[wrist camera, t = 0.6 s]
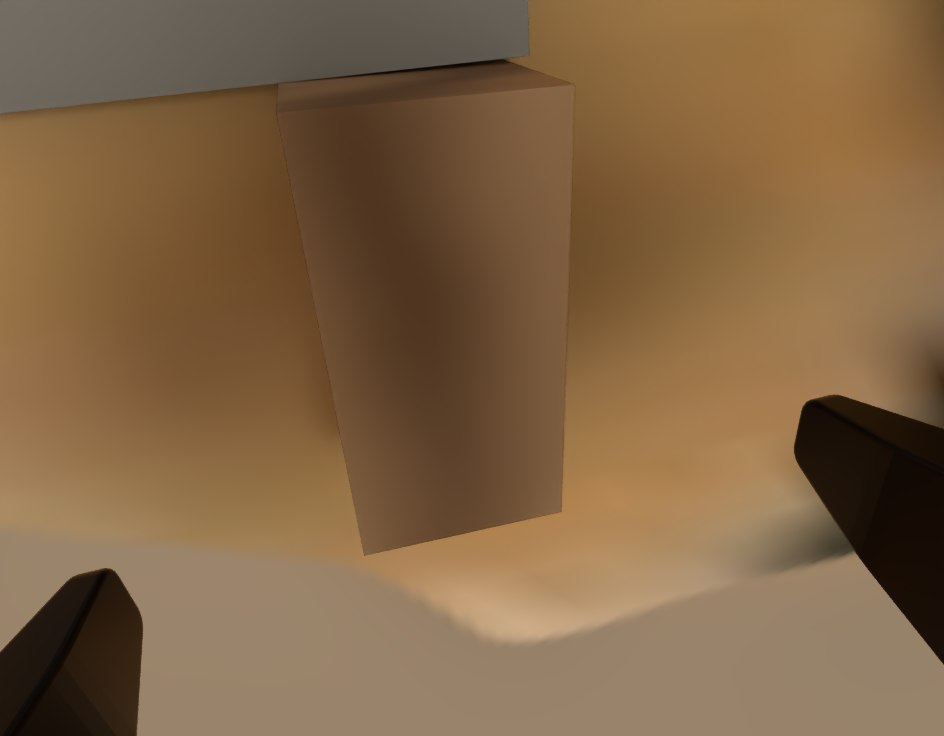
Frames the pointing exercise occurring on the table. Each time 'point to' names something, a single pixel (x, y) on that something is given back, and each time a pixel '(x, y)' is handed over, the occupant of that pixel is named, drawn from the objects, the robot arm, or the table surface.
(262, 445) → the table surface
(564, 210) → the tan rectangular box
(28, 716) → the robot arm
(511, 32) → the board
